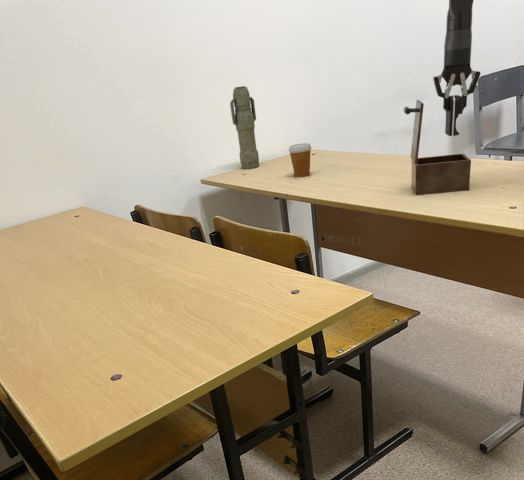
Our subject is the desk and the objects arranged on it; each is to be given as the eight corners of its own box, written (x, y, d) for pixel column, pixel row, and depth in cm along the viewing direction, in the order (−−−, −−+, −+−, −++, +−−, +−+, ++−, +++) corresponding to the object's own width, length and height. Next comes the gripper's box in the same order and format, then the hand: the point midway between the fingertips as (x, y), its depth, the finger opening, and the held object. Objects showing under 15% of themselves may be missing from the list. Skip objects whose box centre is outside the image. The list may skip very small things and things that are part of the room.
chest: (462, 182, 181) (463, 153, 176) (469, 190, 171) (471, 160, 166) (411, 186, 184) (411, 158, 179) (415, 195, 174) (415, 165, 169)
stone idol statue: (265, 165, 255) (256, 84, 238) (246, 170, 249) (235, 88, 232) (254, 164, 261) (244, 85, 244) (235, 169, 255) (224, 89, 238)
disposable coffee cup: (301, 172, 230) (299, 143, 224) (318, 173, 223) (316, 143, 217) (286, 177, 224) (283, 147, 218) (303, 178, 218) (300, 147, 212)
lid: (418, 100, 170) (403, 100, 171) (423, 103, 160) (406, 103, 161) (412, 157, 179) (397, 157, 180) (417, 164, 169) (401, 164, 170)
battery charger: (462, 135, 165) (464, 95, 159) (449, 137, 165) (451, 96, 160) (456, 132, 171) (459, 93, 165) (444, 134, 171) (446, 95, 166)
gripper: (434, 50, 154) (432, 114, 162) (486, 43, 152) (481, 109, 160) (430, 50, 161) (429, 111, 169) (480, 44, 158) (476, 106, 166)
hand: (454, 110), depth 164 cm, fingers closed on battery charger, 4 cm apart
